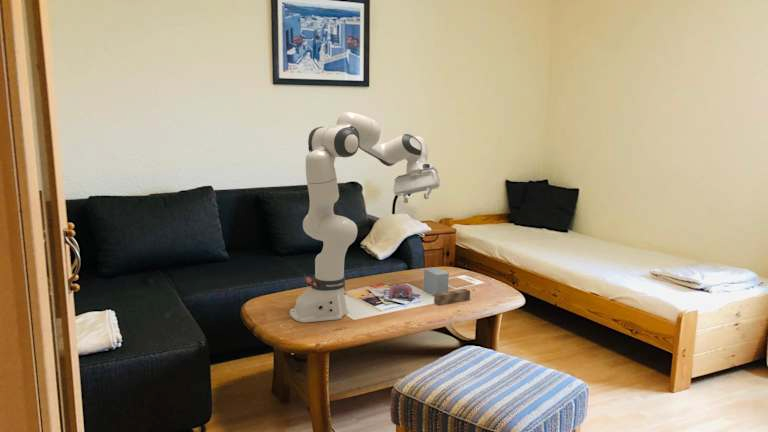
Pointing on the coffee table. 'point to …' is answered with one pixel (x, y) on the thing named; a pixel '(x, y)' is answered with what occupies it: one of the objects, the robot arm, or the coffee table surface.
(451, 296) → the board
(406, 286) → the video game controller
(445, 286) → the block
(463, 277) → the photo frame
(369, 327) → the coffee table surface
